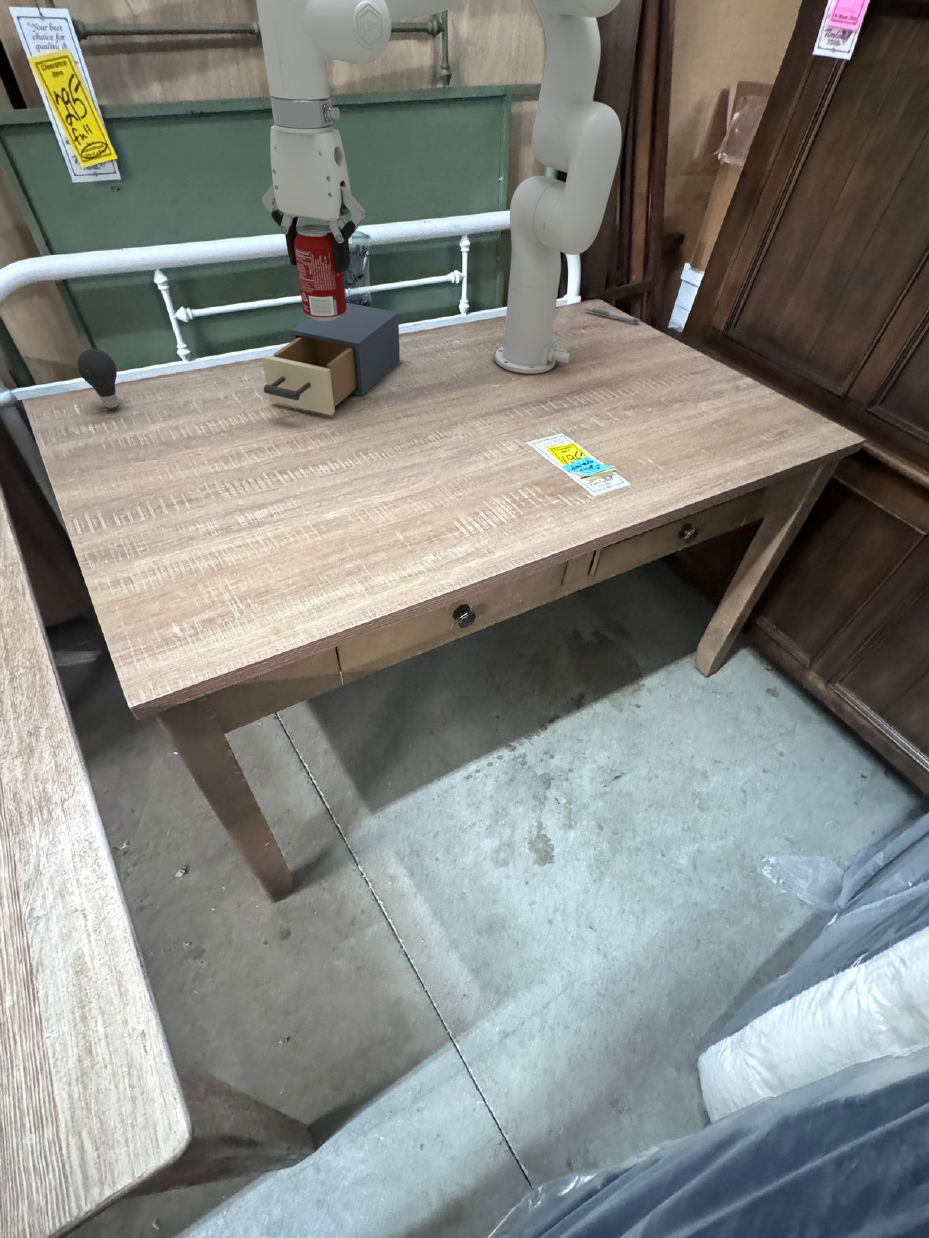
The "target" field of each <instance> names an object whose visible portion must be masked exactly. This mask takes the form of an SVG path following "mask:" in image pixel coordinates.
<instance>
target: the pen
mask: <svg viewBox="0 0 929 1238" xmlns="http://www.w3.org/2000/svg"><path fill="white" fill-rule="evenodd" d="M584 309H585V311H588V312H590V313H594V314H598V315H601V316H607V317H611V318H616V319H617V320H618V321H620V322H623V323H627V324H631V325H632V324H635V325H636V324H637V323H640V322H641V319H639V318H638V317H635V316H631V315H627V314H626V315H625V314H621V313H617V312H613V311H609V310H604V309H600V308H597V307H590V306H589V307H585V308H584Z"/></svg>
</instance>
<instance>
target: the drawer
mask: <svg viewBox="0 0 929 1238" xmlns="http://www.w3.org/2000/svg"><path fill="white" fill-rule="evenodd" d="M261 361H262V366H263V371H264V377H265V383H266V384H265V385H264V387H263V392H264V394H266V395H268V397H269V401H270V402H273V403H278V404H281V405H285V406H289V407H294V408H299V409H302V410H306V411H311V412H315V413H320V414H323V415H324V414H325V415H329V416H333V415H334V414H335V413H336V411H335V410H336V409H335V407H337V406H338V405H339V404H340V403H341V402H342V401H343V400H345V399H346V398H347V397H348V396H349V395H350V394H352V393H351V392H352V391H353V390H355V389H356V388H357V387H358V378H357V366H356V354H355V347H351V346H346V345H341V344H336V343H332V342H327V341H322V340H317V339H312V338H307V337H302V336H299V337H298V338H296V339H295V340H294V341H290V342H289V343H288V344H286V345H284V346H283V347H282V348H280V349H278V350H277V351H275V352H274V353H273V356H272V355H268V354H264V355H263V356H262V357H261Z"/></svg>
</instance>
